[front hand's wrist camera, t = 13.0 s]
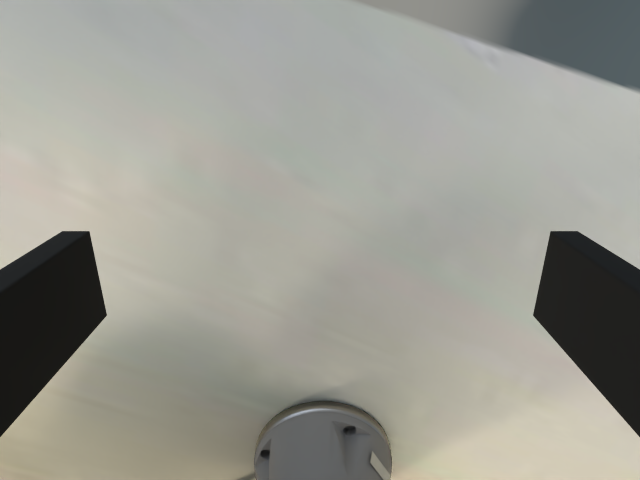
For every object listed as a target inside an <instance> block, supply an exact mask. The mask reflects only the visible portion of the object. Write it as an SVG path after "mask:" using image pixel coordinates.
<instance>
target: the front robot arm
mask: <svg viewBox="0 0 640 480" xmlns="http://www.w3.org/2000/svg"><path fill="white" fill-rule="evenodd" d="M106 316H107V314H106V309H105V304H104V300H103V295H102V290H101V285H100V280H99V276H98V271H97V266H96V261H95V256H94V251H93V247H92V242H91V237H90V232H89V231H62V232H61V233H59V234H57V235H56V236H54V237H52V238H51V239H49V240H48V241H46V242H44V243H43V244H41V245H39V246H38V247H36V248H35V249H33V250H31V251H30V252H28V253H27V254H25V255H23V256H22V257H20V258H18V259H17V260H15V261H14V262H12V263H10V264H9V265H7V266H5V267H4V268H2V269H1V270H0V437H1V436H2V434H3V433H4V432H5V431H6V430H7V429H8V428H9V426H10V425H11V424H12V423H13V422H14V421H15V420H16V418H17V417H18V416H19V415H20V414H21V413H22V412H23V410H24V409H25V408H26V407H27V406H28V405H29V404H30V402H31V401H32V400H33V399H34V398H35V397H36V396H37V395H38V393H39V392H40V391H41V390H42V389H43V388H44V387H45V385H46V384H47V383H48V382H49V381H50V380H51V379H52V377H53V376H54V375H55V374H56V373H57V372H58V371H59V369H60V368H61V367H62V366H63V365H64V364H65V363H66V361H67V360H68V359H69V358H70V357H71V356H72V355H73V353H74V352H75V351H76V350H77V349H78V348H79V347H80V345H81V344H82V343H83V342H84V341H85V340H86V339H87V337H88V336H89V335H90V334H91V333H92V332H93V331H94V329H95V328H96V327H97V326H98V325H99V324H100V323H101V321H102V320H103V319H104V318H105V317H106ZM533 316H534V317H535V318H536V319H537V320H538V321H539V323H540V324H541V325H542V326H543V327H544V328H545V329H546V331H547V332H548V333H549V334H550V335H551V336H552V337H553V339H554V340H555V341H556V342H557V343H558V344H559V345H560V347H561V348H562V349H563V350H564V351H565V352H566V353H567V355H568V356H569V357H570V358H571V359H572V360H573V361H574V363H575V364H576V365H577V366H578V367H579V368H580V369H581V371H582V372H583V373H584V374H585V375H586V376H587V377H588V379H589V380H590V381H591V382H592V383H593V384H594V385H595V387H596V388H597V389H598V390H599V391H600V392H601V393H602V395H603V396H604V397H605V398H606V399H607V400H608V401H609V402H610V404H611V405H612V406H613V407H614V408H615V409H616V410H617V412H618V413H619V414H620V415H621V416H622V417H623V418H624V420H625V421H626V422H627V423H628V424H629V425H630V426H631V428H632V429H633V430H634V431H635V432H636V433H637V434H638V436H639V437H640V270H639V269H638V268H636V267H635V266H633V265H631V264H630V263H628V262H626V261H625V260H623V259H622V258H620V257H618V256H617V255H615V254H613V253H612V252H610V251H609V250H607V249H605V248H604V247H602V246H601V245H599V244H597V243H596V242H594V241H592V240H591V239H589V238H588V237H586V236H584V235H583V234H581V233H579V232H578V231H551V232H550V237H549V242H548V247H547V251H546V256H545V261H544V266H543V271H542V276H541V280H540V285H539V290H538V295H537V300H536V304H535V309H534V314H533ZM254 467H255V476H256V480H390V477H391V470H392V457H391V452H390V446H389V441H388V438H387V436H386V434H385V432H384V430H383V429H382V427H381V426H380V425H379V424H378V422H377V421H375V420H374V419H373V418H372V417H371V416H370V415H368V414H367V413H365V412H363V411H361V410H360V409H357V408H355V407H353V406H349V405H346V404H342V403H337V402H327V401H319V402H309V403H304V404H300V405H297V406H294V407H291V408H289V409H287V410H285V411H283V412H281V413H280V414H278V415H277V416H275V417H274V418H273V419H272V420H271V421H270V422H269V423H268V424H267V425H266V426H265V427H264V429H263V430H262V432H261V434H260V436H259V438H258V442H257V446H256V452H255V458H254Z"/></svg>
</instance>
